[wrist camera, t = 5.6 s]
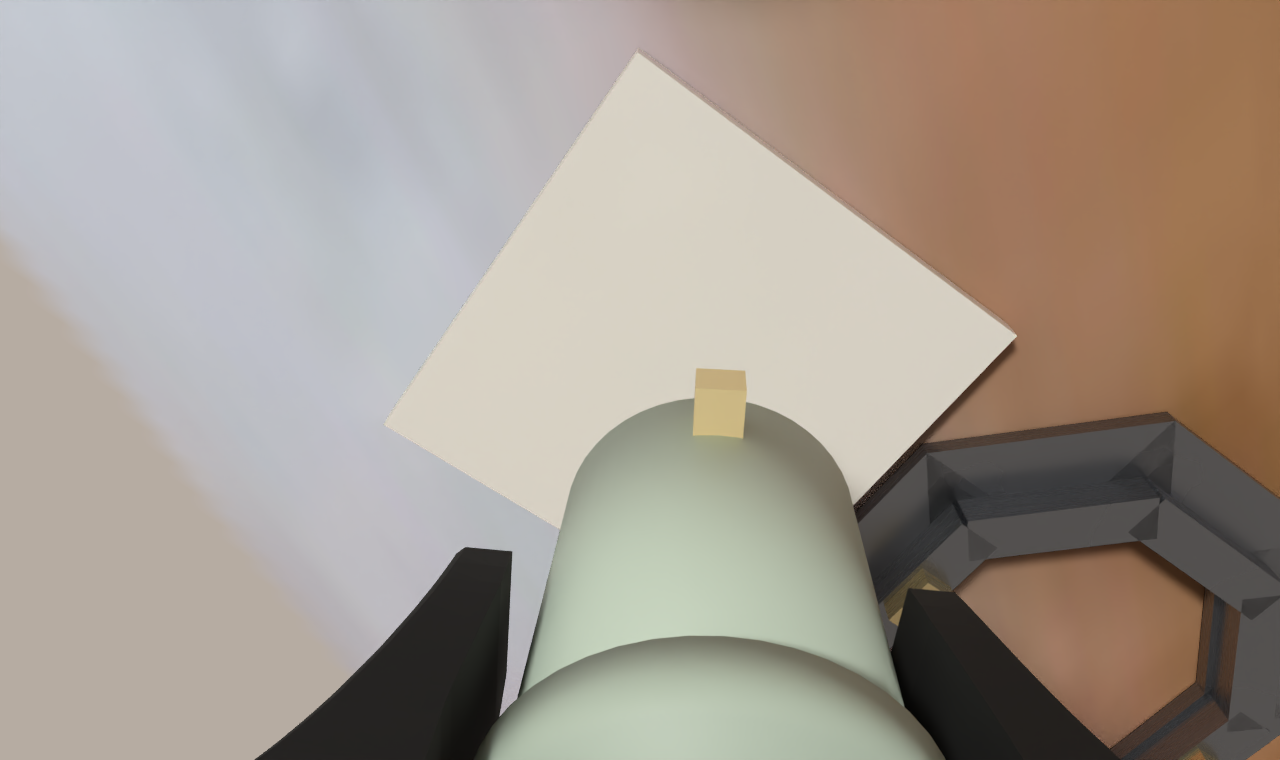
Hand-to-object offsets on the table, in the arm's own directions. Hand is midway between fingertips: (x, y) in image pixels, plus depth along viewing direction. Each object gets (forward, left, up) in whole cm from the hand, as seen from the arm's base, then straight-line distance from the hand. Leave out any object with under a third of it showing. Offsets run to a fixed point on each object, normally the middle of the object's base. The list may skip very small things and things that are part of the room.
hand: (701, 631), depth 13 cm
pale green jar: (0, 0, -3) cm, 3 cm away
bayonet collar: (-11, +1, -8) cm, 14 cm away
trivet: (0, 0, -8) cm, 8 cm away
